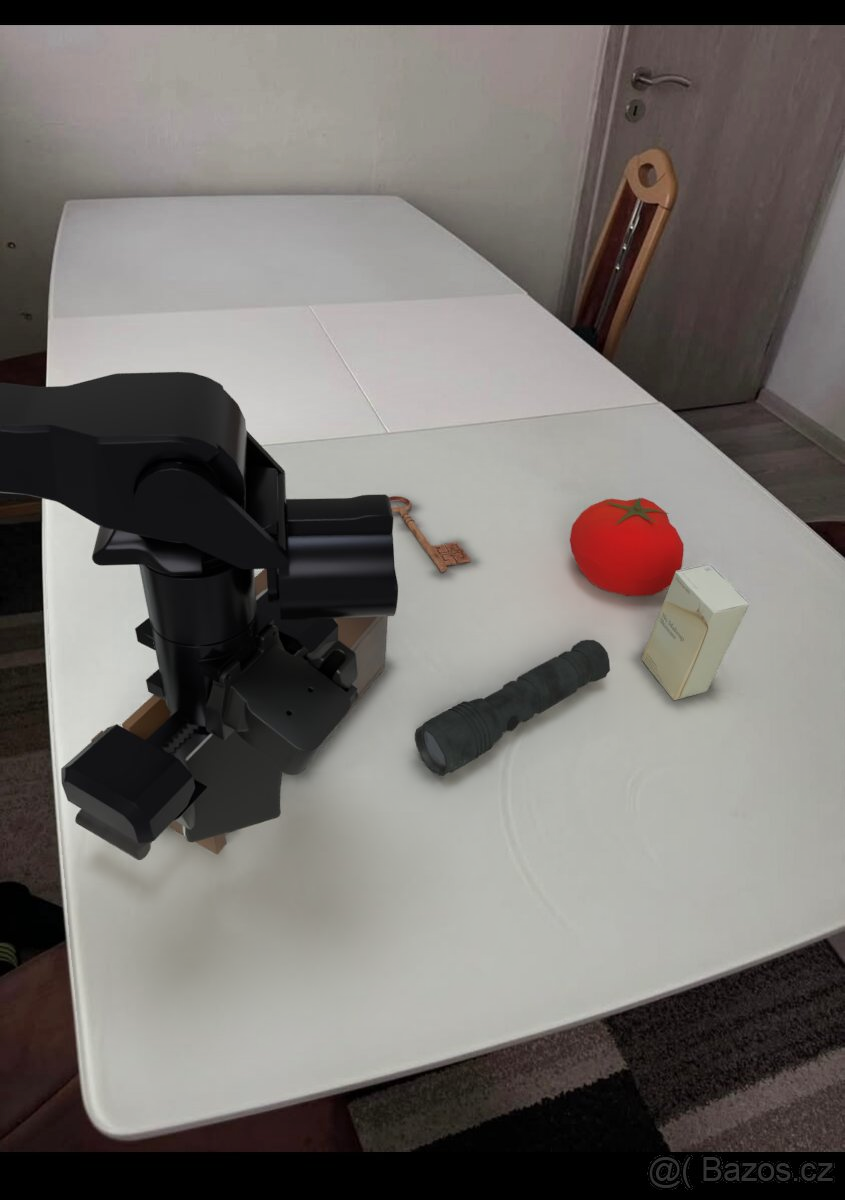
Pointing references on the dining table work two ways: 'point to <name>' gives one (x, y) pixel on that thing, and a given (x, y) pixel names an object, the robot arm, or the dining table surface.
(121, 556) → the robot arm
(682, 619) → the cosmetic box
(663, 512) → the tomato
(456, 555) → the key
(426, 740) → the flashlight
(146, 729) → the drawer
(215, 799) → the battery charger
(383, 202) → the dining table surface
